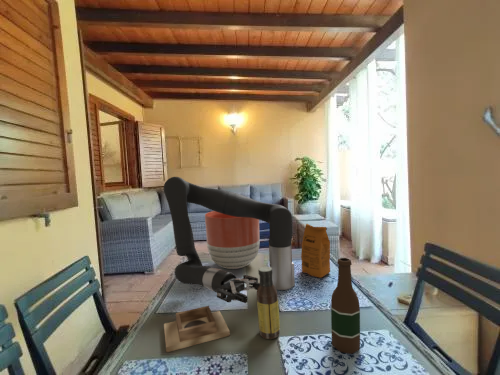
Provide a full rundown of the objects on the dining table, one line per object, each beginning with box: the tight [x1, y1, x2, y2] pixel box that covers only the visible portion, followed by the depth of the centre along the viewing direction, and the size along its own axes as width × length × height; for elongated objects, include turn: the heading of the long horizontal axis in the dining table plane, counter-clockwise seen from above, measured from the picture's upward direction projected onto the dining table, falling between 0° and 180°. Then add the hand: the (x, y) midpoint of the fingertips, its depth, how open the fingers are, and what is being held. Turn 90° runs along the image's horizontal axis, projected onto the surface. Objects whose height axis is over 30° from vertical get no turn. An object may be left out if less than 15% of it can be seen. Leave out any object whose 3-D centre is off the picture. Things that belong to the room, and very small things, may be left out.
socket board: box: [163, 305, 231, 354], centre depth 82 cm, size 18×12×4 cm, turn 110°
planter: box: [204, 210, 260, 270], centre depth 134 cm, size 27×27×27 cm
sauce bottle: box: [256, 266, 281, 340], centre depth 79 cm, size 6×6×20 cm
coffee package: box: [300, 223, 331, 279], centre depth 122 cm, size 10×12×22 cm
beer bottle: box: [330, 257, 361, 355], centre depth 73 cm, size 8×8×24 cm
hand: (255, 293), depth 82 cm, fingers open, 8 cm apart
